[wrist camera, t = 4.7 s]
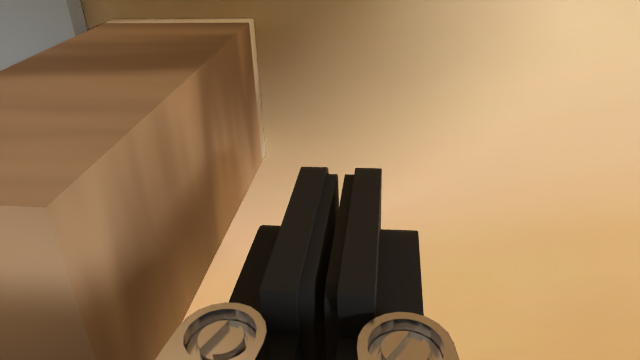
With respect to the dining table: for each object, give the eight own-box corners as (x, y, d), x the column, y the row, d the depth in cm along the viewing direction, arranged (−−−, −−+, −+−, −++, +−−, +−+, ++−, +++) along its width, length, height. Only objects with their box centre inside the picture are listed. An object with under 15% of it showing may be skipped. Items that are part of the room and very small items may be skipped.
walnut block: (112, 19, 18) (-265, 193, 8) (253, 18, 18) (46, 207, 7) (140, 150, 21) (-121, 416, 10) (265, 153, 20) (122, 441, 10)
